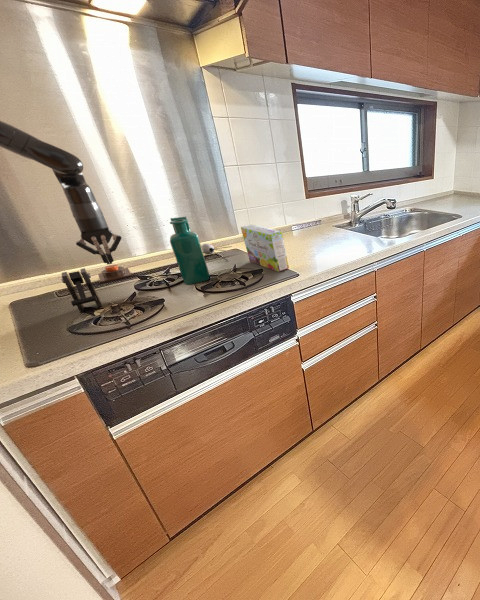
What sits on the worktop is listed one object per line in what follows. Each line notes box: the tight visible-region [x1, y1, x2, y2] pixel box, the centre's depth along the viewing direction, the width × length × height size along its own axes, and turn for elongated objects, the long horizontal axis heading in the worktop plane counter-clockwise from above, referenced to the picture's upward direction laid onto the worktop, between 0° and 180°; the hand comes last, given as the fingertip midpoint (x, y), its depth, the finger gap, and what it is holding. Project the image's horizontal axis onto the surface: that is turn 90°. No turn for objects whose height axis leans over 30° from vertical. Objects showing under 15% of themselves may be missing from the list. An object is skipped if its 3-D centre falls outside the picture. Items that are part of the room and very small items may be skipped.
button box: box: [97, 266, 133, 284], centre depth 120 cm, size 11×9×4 cm
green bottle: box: [169, 216, 211, 285], centre depth 115 cm, size 10×8×22 cm
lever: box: [68, 270, 97, 307], centre depth 91 cm, size 12×5×2 cm, turn 44°
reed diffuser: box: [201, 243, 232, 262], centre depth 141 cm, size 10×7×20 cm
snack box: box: [240, 224, 290, 273], centre depth 129 cm, size 21×6×15 cm, turn 53°
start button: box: [104, 264, 119, 272], centre depth 119 cm, size 4×4×2 cm
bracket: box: [60, 267, 103, 314], centre depth 95 cm, size 10×9×13 cm
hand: (109, 263), depth 118 cm, fingers closed
